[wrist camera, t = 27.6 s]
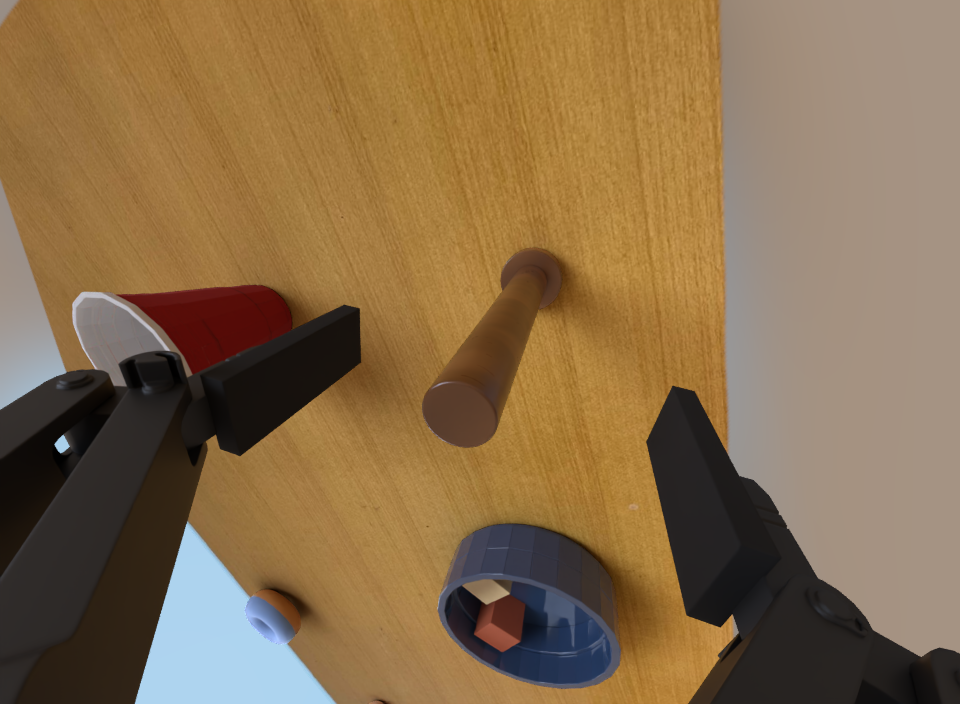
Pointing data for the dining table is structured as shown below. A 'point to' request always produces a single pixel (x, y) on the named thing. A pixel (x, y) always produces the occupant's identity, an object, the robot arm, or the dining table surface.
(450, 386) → the muddler
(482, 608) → the terracotta block
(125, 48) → the dining table surface
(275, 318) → the plastic cup
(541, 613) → the bowl
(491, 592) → the birch block
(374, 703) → the egg
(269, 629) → the doughnut
